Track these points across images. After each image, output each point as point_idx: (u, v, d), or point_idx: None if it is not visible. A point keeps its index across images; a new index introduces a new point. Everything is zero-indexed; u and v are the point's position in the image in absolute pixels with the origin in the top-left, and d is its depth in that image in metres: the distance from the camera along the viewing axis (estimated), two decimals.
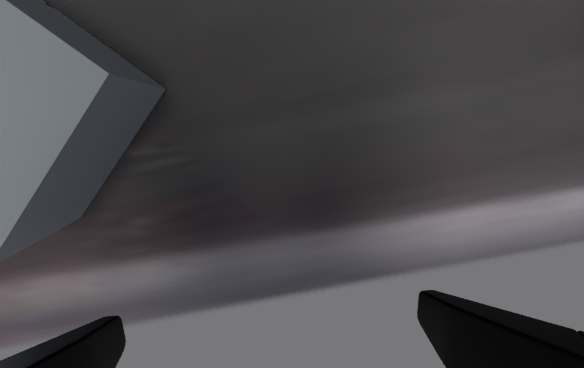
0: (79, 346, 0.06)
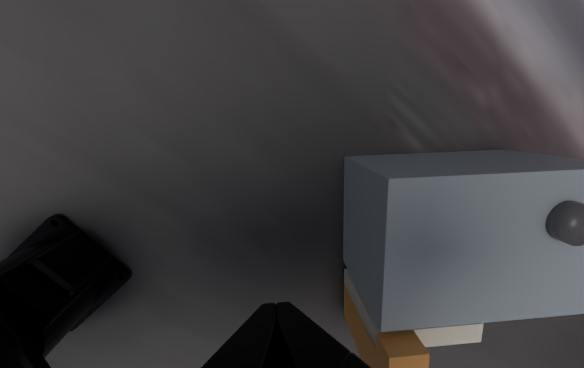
0: None
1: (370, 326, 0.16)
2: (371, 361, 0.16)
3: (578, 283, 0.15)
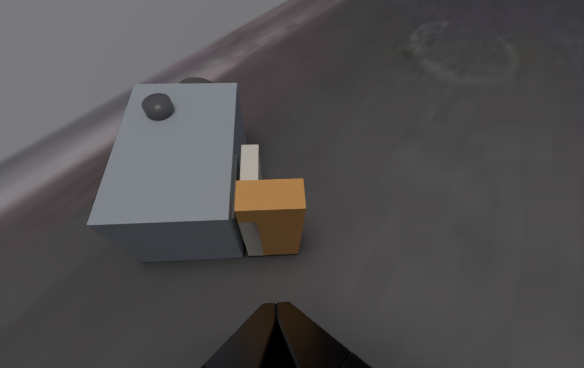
0: None
1: (245, 228, 0.18)
2: (278, 224, 0.18)
3: (211, 96, 0.22)
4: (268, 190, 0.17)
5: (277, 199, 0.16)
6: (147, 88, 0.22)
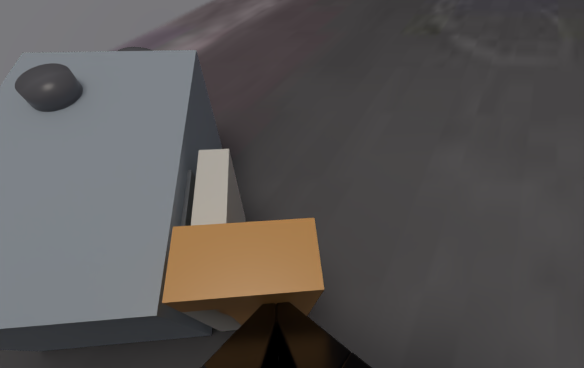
0: None
1: (201, 315, 0.09)
2: None
3: (150, 70, 0.13)
4: (241, 248, 0.08)
5: (261, 268, 0.07)
6: (42, 58, 0.13)
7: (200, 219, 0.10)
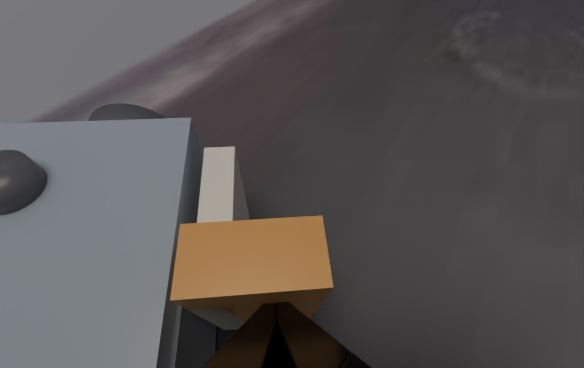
0: None
1: (208, 313, 0.09)
2: None
3: (134, 148, 0.11)
4: (249, 246, 0.08)
5: (270, 266, 0.07)
6: (1, 133, 0.11)
7: (206, 217, 0.10)
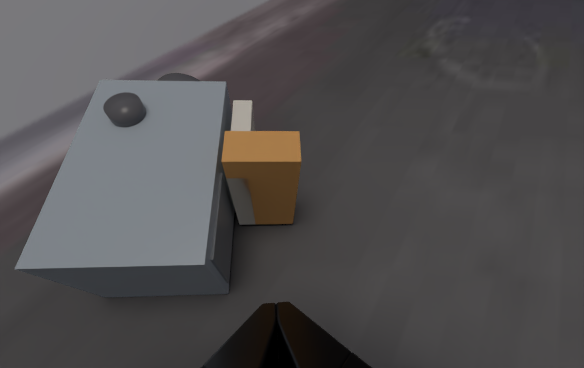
0: None
1: (235, 186, 0.16)
2: (270, 183, 0.16)
3: (193, 97, 0.18)
4: (260, 142, 0.15)
5: (270, 151, 0.15)
6: (115, 85, 0.18)
7: None
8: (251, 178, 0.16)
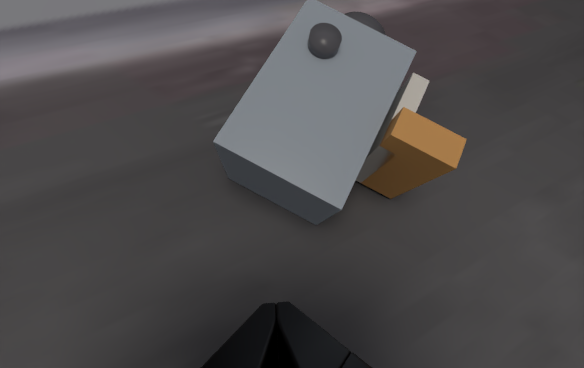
0: None
1: (378, 154, 0.18)
2: (410, 167, 0.18)
3: (382, 54, 0.18)
4: (429, 132, 0.16)
5: (434, 146, 0.16)
6: (320, 8, 0.19)
7: (401, 110, 0.18)
8: (399, 156, 0.17)
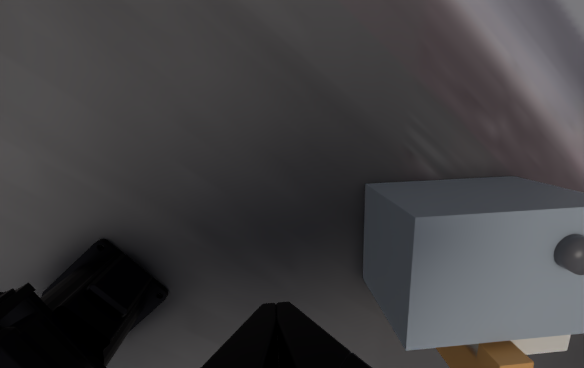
0: None
1: None
2: None
3: (582, 305, 0.16)
4: None
5: None
6: None
7: (523, 343, 0.17)
8: (475, 362, 0.17)
